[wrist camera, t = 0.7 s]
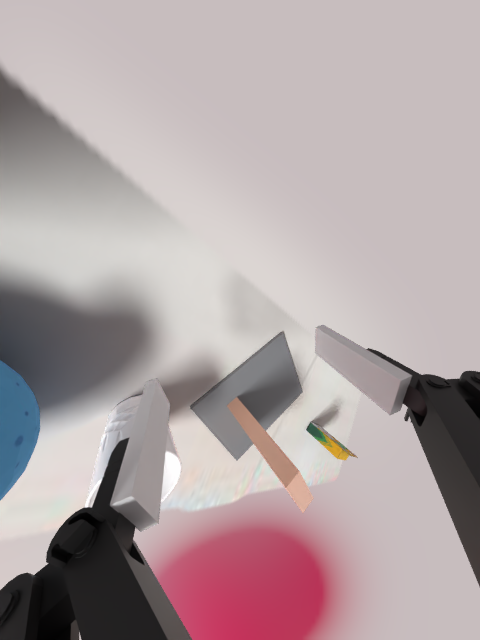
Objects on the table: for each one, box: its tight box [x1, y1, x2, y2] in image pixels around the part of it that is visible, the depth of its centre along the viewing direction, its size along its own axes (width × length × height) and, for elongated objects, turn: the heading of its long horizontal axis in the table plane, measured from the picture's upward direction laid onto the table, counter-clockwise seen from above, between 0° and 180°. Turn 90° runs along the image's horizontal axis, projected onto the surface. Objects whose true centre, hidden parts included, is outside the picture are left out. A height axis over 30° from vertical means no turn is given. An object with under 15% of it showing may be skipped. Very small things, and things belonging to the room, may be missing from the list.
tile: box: [227, 397, 313, 513], centre depth 29 cm, size 10×2×15 cm, turn 25°
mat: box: [190, 332, 302, 460], centre depth 37 cm, size 20×22×1 cm
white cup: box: [85, 395, 181, 508], centre depth 21 cm, size 8×8×10 cm
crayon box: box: [307, 422, 357, 460], centre depth 50 cm, size 7×3×12 cm, turn 49°
